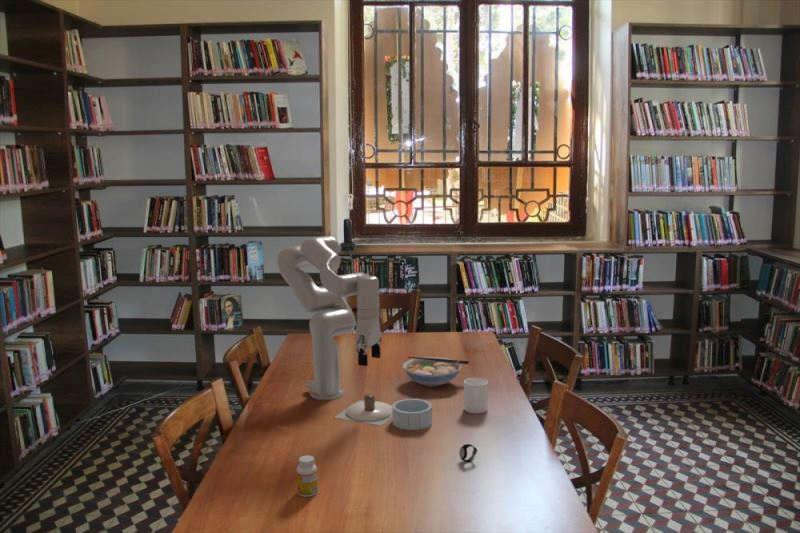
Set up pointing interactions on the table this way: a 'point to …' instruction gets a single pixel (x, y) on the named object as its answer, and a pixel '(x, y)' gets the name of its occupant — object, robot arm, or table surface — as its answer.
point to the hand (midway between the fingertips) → (369, 361)
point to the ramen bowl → (432, 370)
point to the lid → (369, 409)
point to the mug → (475, 395)
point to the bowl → (412, 414)
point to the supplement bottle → (307, 477)
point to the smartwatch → (464, 452)
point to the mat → (378, 422)
